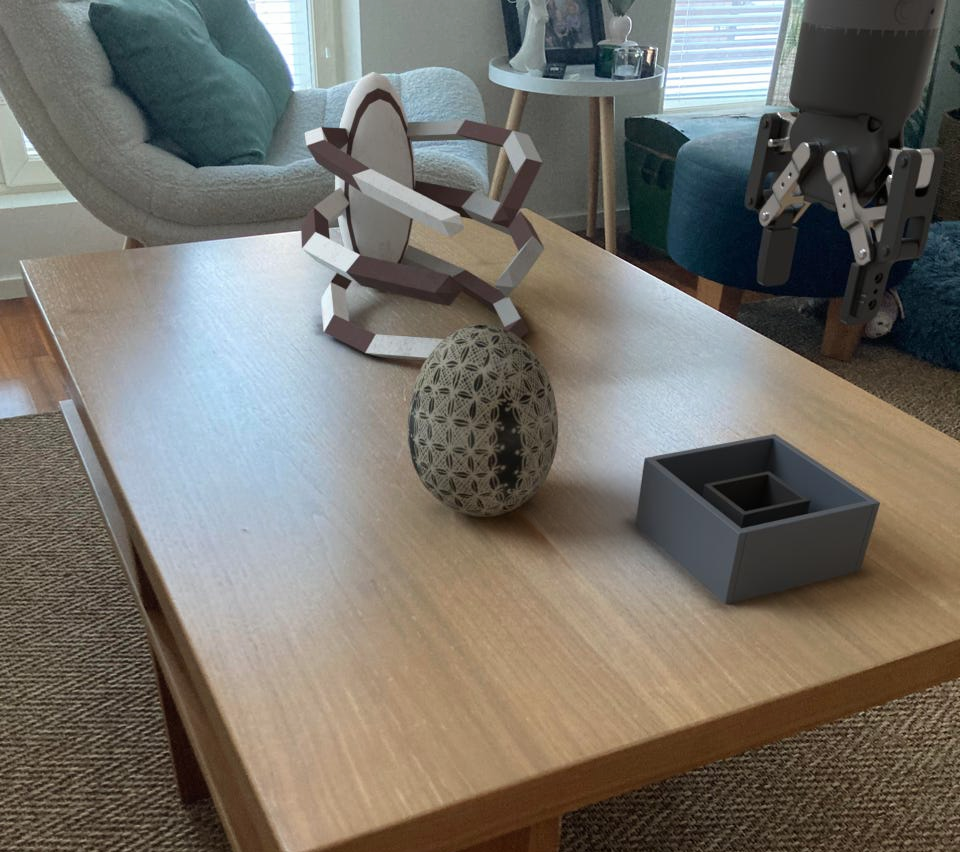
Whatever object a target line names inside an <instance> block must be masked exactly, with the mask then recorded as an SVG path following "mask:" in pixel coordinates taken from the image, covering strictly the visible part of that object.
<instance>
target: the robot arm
mask: <svg viewBox="0 0 960 852" xmlns="http://www.w3.org/2000/svg"><path fill="white" fill-rule="evenodd" d="M945 4H946V0H804V5H803V12H802V17H801V23H800V29H799V34H798V39H797V40H798V41H797V46H796V52H795V58H794V64H793V69H792V74H791V79H790V80H791V81H790V85H789V92H788V99H789V102H790V104H791V105H792V106H793V107H794V108H796V109H798V111H775V112H766V113H764V114H762V116H761V118H760V120H759V124H758V130H757V134H756V139H755V144H754V148H753V155H752V160H751V164H750V165H751V166H750V170H749V175H748V181H747V186H746V190H745V195H744V206H745V208H746V209H747V211H755V212H756V214H758V219H759V223H760V225H761V226H762V227H763V228H762V234H761V239H760V245H759V251H758V257H757V262H756V271H757V273H756V282H757V283H758V284H760V285H761V286H763V287H766V288H767V287H776V286H782V285H785V284H786V283H787V282H788V280H789V278H790V273H791V269H792V265H793V264H792V263H793V258H794V253H795V246H796V242H797V237H798V232H799V227H796V226H794V225H793V224H796V223H797V222H798V221H799V220H800V218H801V217H803V215H804V213H805V212H806V211H807V210H808V208H809V207H810V206H811V205H812V204H820V205H822V206H823V207H824V208H825V209H827V210H828V211H831V212H834V213H837V215H838V219H839V224H840V227H841V228H842V229H843V230H844V231H847V232H848V234H849V238H850V242H851V243H850V244H851V247H852V251H853V257H854V261H855V262H851V264H850V268H849V274H848V278H847V282H846V287H845V291H844V295H843V300H842V305H841V310H840V313H839V320H840V322H842V323H844V324H846V325H847V326H859V325H865V324H869V323H871V322H872V320H873V319H874V317H876V316H877V315H878V313H879V312H880V309H881V306H882V302H883V298H884V293H885V290H886V288H887V287H886V286H887V283H888V278H889V274H890V270H891V268H892V266H893V265H894V263H896V262H899V261H906V260H915V259H919V258H921V257H922V256H923V255H924V253H925V250H926V246H927V242H928V241H927V240H928V237H929V232H930V228H931V223H932V218H933V214H934V209H935V205H936V199H937V195H938V191H939V186H940V181H941V177H942V173H943V168H944V163H945V152H944V151H943V149H942V148H941V147H929V148H909V147H905V141H904V139H905V138H904V132H905V131H904V130H905V127H906V123H907V121H908V120H909V118H910V117H911V116H912V114H914V113H915V112H916V111H917V110H918V109H919V108H920V106H921V104H922V98H923V94H924V91H925V86H926V82H927V78H928V75H929V70H930V65H931V62H932V57H933V55H934V49H935V45H936V41H937V37H938V33H939V29H940V25H941V24H940V23H941V21H942V15H943V11H944V7H945ZM770 173H772V175H771V176H772V177H771V181H770V186H769V189H765V185H766V180H767V176H768V175H769V174H770ZM872 200H873V205H874V207H865V206H867V205H869V203H870V202H871V201H872ZM908 219H909V220H908ZM907 220H908V224H907V229H906V234H905V237H903V236H904V231H905V225H906V222H907ZM871 228H872V229H873V230H874V235H875V237H876V238H875V239H876V241H874V240H873V236H872V231H871Z"/></svg>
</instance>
